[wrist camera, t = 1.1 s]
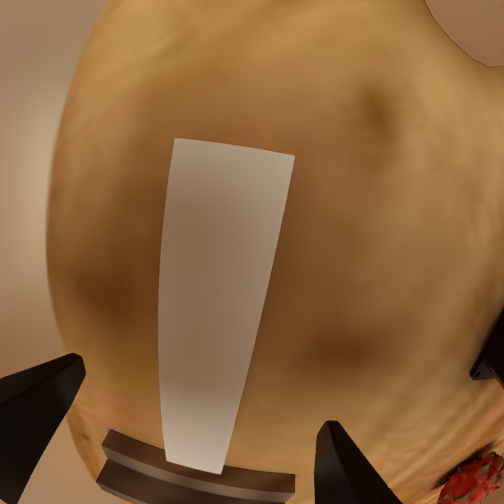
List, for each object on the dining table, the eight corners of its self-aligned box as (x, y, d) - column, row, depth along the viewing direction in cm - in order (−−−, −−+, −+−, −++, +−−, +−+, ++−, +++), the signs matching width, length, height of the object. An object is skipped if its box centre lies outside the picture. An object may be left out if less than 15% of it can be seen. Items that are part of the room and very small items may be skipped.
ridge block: (295, 474, 16) (294, 522, 12) (271, 500, 19) (268, 537, 14) (110, 429, 17) (87, 469, 12) (124, 464, 19) (108, 497, 15)
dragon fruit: (497, 426, 17) (435, 469, 22) (485, 461, 12) (410, 502, 17) (520, 459, 11) (457, 498, 16) (510, 497, 6) (435, 533, 11)
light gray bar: (288, 162, 10) (295, 156, 6) (230, 426, 15) (220, 474, 11) (210, 148, 10) (175, 137, 7) (183, 414, 15) (166, 460, 11)
